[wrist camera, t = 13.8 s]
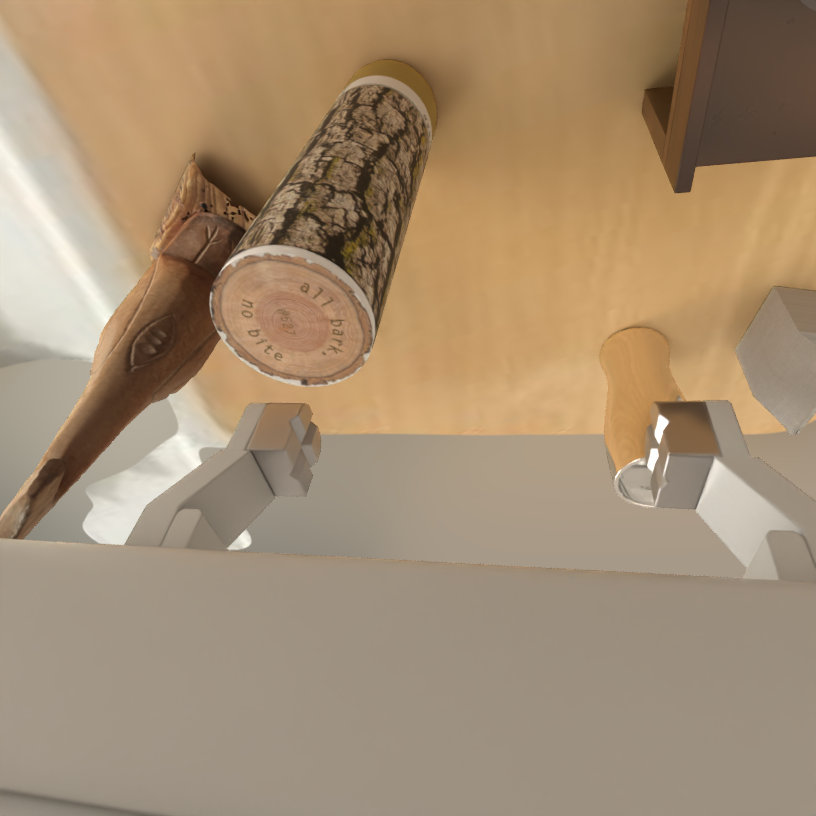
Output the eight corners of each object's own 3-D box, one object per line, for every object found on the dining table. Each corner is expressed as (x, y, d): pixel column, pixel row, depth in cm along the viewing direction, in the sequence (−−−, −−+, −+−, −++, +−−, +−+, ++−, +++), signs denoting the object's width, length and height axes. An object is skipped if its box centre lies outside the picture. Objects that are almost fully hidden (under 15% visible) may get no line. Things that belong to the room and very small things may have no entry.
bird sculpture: (317, 230, 48) (140, 577, 26) (262, 315, 55) (88, 640, 33) (194, 146, 44) (-137, 467, 22) (152, 249, 52) (-125, 566, 30)
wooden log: (437, 53, 37) (362, 252, 20) (440, 158, 42) (381, 390, 25) (337, 58, 38) (184, 250, 21) (351, 159, 43) (236, 383, 26)
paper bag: (734, 349, 50) (767, 433, 44) (773, 286, 46) (818, 368, 39) (777, 355, 50) (817, 439, 43) (821, 291, 45) (874, 375, 38)
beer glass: (633, 391, 55) (657, 520, 45) (578, 358, 54) (590, 486, 43) (691, 346, 51) (734, 480, 40) (633, 309, 49) (662, 439, 39)
